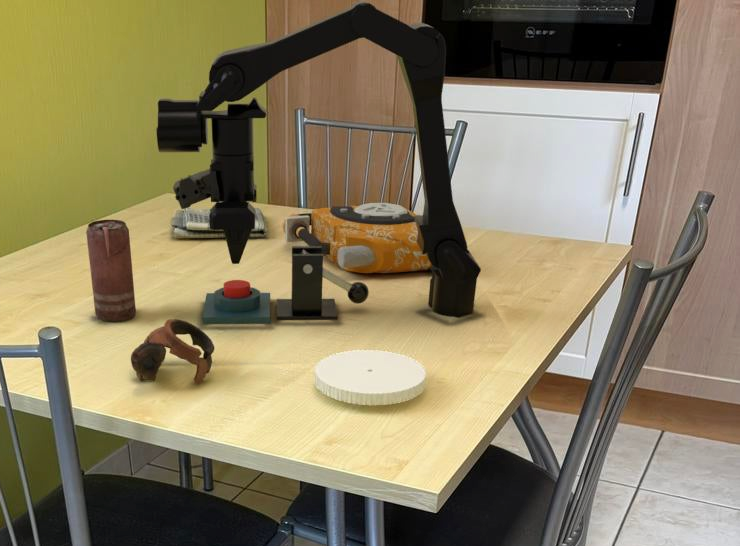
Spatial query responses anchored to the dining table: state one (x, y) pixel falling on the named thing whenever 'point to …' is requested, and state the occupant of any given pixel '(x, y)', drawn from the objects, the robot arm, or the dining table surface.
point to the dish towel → (197, 224)
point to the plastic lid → (370, 377)
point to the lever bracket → (307, 288)
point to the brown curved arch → (172, 350)
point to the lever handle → (347, 286)
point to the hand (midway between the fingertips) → (235, 263)
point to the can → (111, 270)
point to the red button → (236, 289)
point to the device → (362, 237)
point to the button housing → (236, 308)
